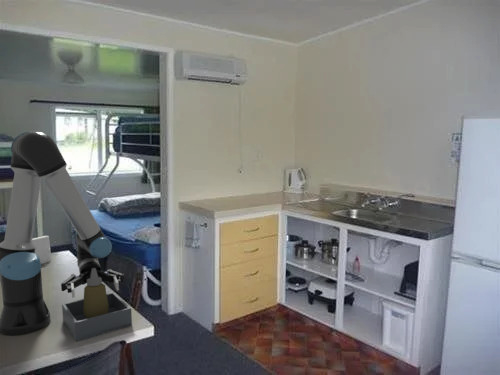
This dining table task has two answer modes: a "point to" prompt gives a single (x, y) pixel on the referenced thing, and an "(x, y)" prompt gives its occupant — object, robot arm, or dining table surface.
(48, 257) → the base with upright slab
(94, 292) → the squeeze bottle
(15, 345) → the dining table surface
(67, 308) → the box
